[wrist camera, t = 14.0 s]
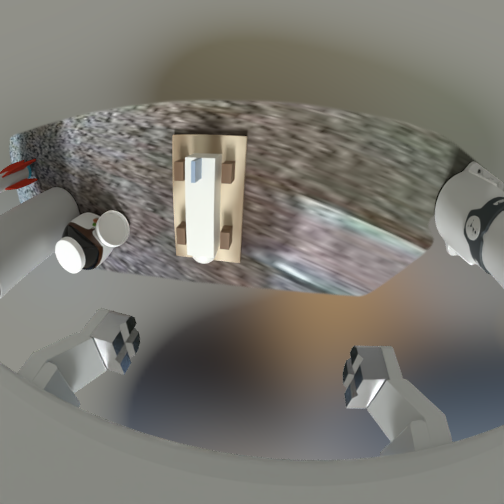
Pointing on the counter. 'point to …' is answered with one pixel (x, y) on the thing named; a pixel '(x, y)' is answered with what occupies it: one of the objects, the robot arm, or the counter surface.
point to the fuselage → (203, 205)
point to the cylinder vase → (32, 233)
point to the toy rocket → (16, 176)
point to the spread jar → (91, 240)
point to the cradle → (231, 189)
